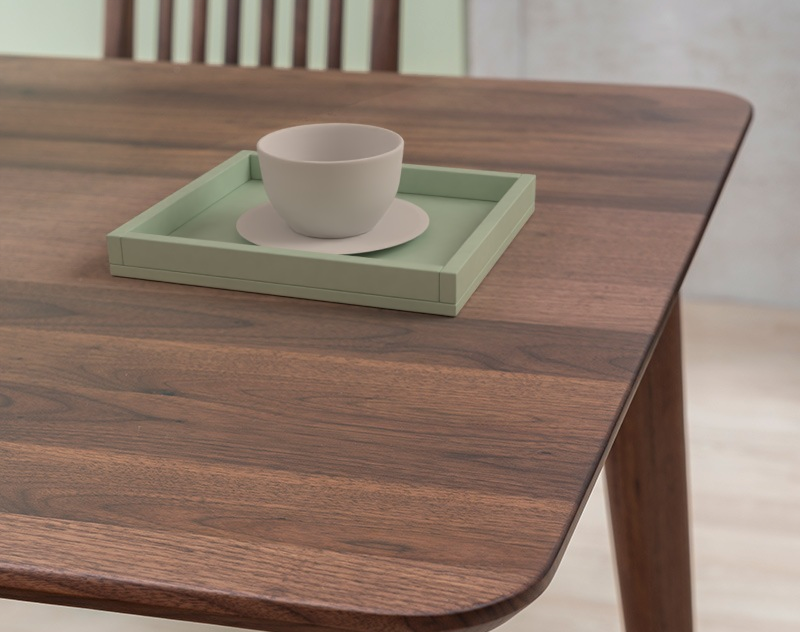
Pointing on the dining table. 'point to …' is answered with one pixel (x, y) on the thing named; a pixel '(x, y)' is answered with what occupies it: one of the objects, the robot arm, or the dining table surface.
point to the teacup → (332, 191)
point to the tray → (322, 272)
